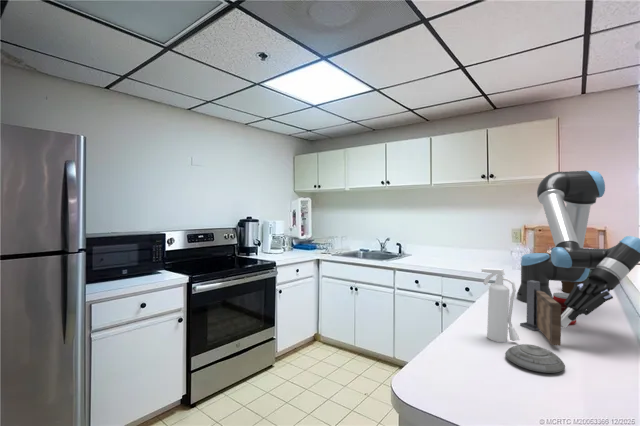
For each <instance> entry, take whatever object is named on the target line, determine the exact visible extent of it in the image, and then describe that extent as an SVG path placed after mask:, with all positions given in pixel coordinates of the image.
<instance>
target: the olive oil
mask: <svg viewBox="0 0 640 426" xmlns="http://www.w3.org/2000/svg"><path fill="white" fill-rule="evenodd" d="M560 282H561V291H562V293H568V294H570V293H571V291H572V289H573V288H574V284H575V283H578V284H583V283H584V282H585V280H584V281H582V282H570V281H560Z"/></svg>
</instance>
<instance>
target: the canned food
mask: <svg viewBox="0 0 640 426" xmlns="http://www.w3.org/2000/svg"><path fill="white" fill-rule="evenodd" d="M552 296H553V299H554V300H555V301H556V302H558V303H559V304H560V305H561V315H562V312H563V311H564V310H565V309H566V308H567V306H566V305H565V304H564V302H565V301H566V299H567V297H568V296H569V293H565V292H553V294H552ZM576 323H577V318H576V319H575V320H573V321H571V322H570V323H569V325H568V326H572V325H573V326H574V325H576Z"/></svg>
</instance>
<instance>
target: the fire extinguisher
mask: <svg viewBox="0 0 640 426" xmlns="http://www.w3.org/2000/svg"><path fill="white" fill-rule="evenodd" d="M481 273H486V274H487V273H488V274H489V275H487V276H486V277H485V278H484V280H483V282H482V283H483V284H484V286H487V285H488V283H489V281H490V280H491V279H493V277H495V276H496V278H495V282H494V283H491V284H490V285H489V286H488V287H489V288H488V303H487V304H488V305H487V327H486V328H487V329H486V330H487V332H486V337H487V338H488V339H489V340H491V341H493V342H496V343H497V342H498V343H507V342H508V334H509V340H510V341H512V342H516V341H520V340H521V339H520V337H519V335H518V332H517V330H516V328H515V327H513V323H512V317H513V316H512V315H513V308H514V307H513V306H514V300H515V299H514V298H515V296H516V292H517V289H516V283H515V282H514V281H512V280H511V279H510V278H508V277H503V276H505V275H506V273H505V269H503V268H489V267H488V268H487V267H483V268H481ZM504 281H505V282H508V283H509V284H511V288H512V289H511V290H512V291H511V294H510V288H509V286H508V285H506V284H504Z"/></svg>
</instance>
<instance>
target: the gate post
mask: <svg viewBox="0 0 640 426" xmlns="http://www.w3.org/2000/svg"><path fill="white" fill-rule="evenodd" d="M538 290H539V291H540V282H538V281H534V280H530V281H527V302H526V321H525V322H521V323H519V326H520V327H522V328H525V329H527V330H530V331H532V332H537V331H541V330H540V329H539V328H538V327H537V295H536V291H538Z"/></svg>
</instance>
